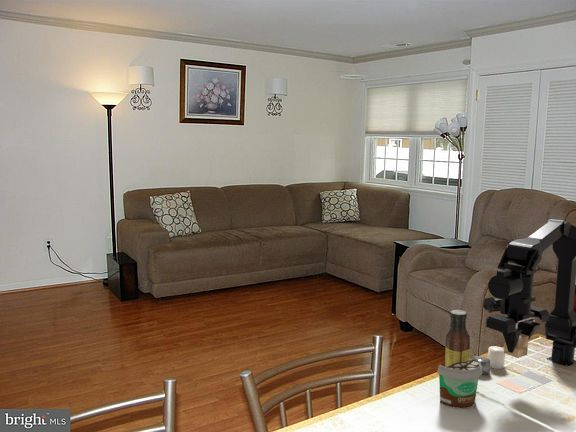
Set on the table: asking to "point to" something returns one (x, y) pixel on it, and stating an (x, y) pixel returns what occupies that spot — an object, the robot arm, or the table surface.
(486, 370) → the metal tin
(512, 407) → the table surface
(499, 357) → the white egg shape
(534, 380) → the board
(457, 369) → the food container
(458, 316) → the sauce bottle
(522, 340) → the oak block
